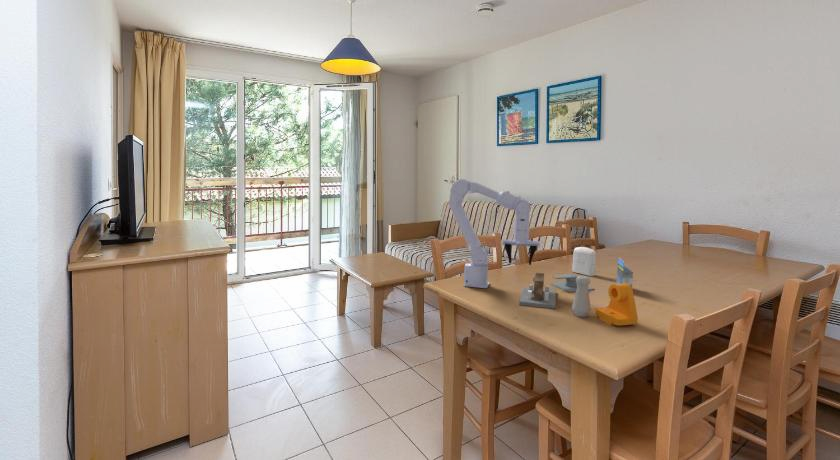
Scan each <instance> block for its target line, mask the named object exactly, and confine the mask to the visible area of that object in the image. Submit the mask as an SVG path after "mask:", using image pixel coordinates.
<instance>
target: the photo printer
mask: <svg viewBox="0 0 840 460" xmlns="http://www.w3.org/2000/svg"><path fill="white" fill-rule="evenodd" d="M572 253H573V254H572V255H573V256H572V268H571V271H572V273H575V274H576V273H577V274H581V275H583V276H587V277H593V276H594V275H595V270H596V257H597V253H596V250H594V249H592V248H589V247H587V246H578V247H574V249H573V252H572Z"/></svg>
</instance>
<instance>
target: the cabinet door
mask: <svg viewBox="0 0 840 460" xmlns="http://www.w3.org/2000/svg"><path fill="white" fill-rule="evenodd" d="M544 281H545V273H544V272H543V273H542V272H535V275H534V277H533V278H532V282H533V283H534V284H533V288H534V298H533V300H541V301H542V297H543V288H544V286H545V285H544V284H545V283H544Z"/></svg>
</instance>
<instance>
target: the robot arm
mask: <svg viewBox="0 0 840 460" xmlns="http://www.w3.org/2000/svg"><path fill="white" fill-rule="evenodd" d="M449 191H450V193H449V201H448V206H449V208H450V210H451V212H452V214H453V216H454V219H455V220H456V223H457V225H458V227H459V229H460V231H461V233H462V235H463V238H464V240H465V241H466V244H467V247H468V249H469V250H468V251H469V253H470V259H471V261H470V262H466V263H465V265H464V270H463V287H467V288H468V287H469V288H470V287H471V288H482V289H487V288H488V287H489V286H490V283H491V282H489V281H488V277H489V261H487V260H488V254H489V253H488V250H487V248H486V247H485V246H483V244H482V243H481V241H480V239H479V237H478V236H477V234H476V231H475V229H474V227H473V225H472V224H471V221H470V219H469V217H468V215H467V212H466V211H465V209H464V206H463V205H462V204H463V203H464V199H465V196H466V195H467V194H468V193H469V194H475V193H476V194H480V195H483V196H485V197H487V198H490V199H492V200H495V201H496V204H497V205H498V206H501V207H503V208H505V209H507V210H510V211H515V217H514V227H513V229H514V230H513V239H502V242H501V245H502V246H504V249H505V252H506V254H507V258H508V264H512V259H513V258H512V251H513V250H512V249H513V246H519V247H529V260H528V265H529V266H531V265H532V260H533V258H534V255H535V253H536V251H537V249H538V248H540V247H541V241H534V240H529V237H530V221H531V219H530V212H531V210H532V207H531V204H530V202H529V201H528V200H527V199H525V198H522V196H519V195H518V196H517V195H515V194H512V193H510V190H509V191H508V190H505V191H504V190H502V191H500V192H498V191H496V190H494V189H493V188H490V187H487V186H485V185H483V184H480V183H479V182H475V181H472V180H468V179H466V178H460V179H457V180H455V181H454V182H453V183H452V185H451V187H450V189H449Z"/></svg>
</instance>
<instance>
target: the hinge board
mask: <svg viewBox="0 0 840 460" xmlns="http://www.w3.org/2000/svg"><path fill="white" fill-rule="evenodd" d="M544 286H545V287H543V297H542V301H541V300H533V298H534V284H533V283H529V286H523V288H522V291H521V295H520V299H519V306H525V307H526V306H527V307H534V308H536V307H537V308H546V309H556V297H557V296H556V294H557V293H556V289H555V288H554V289H552V288H550V285H544Z"/></svg>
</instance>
